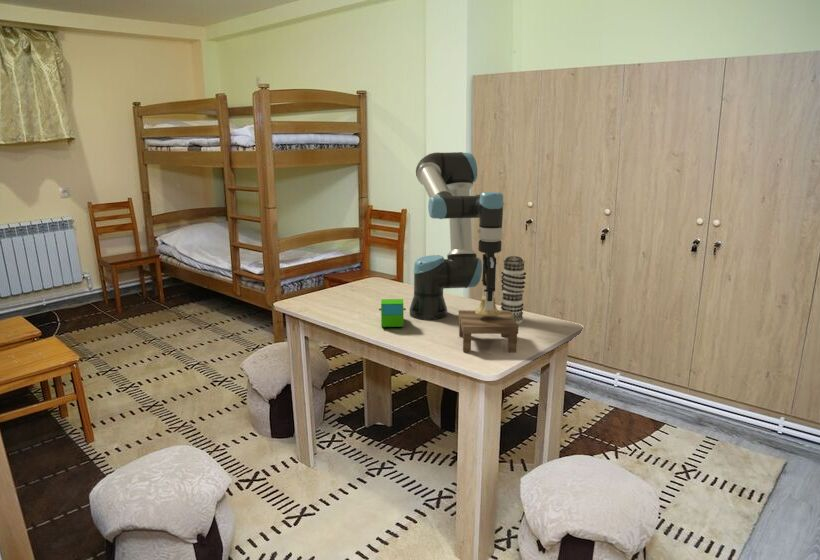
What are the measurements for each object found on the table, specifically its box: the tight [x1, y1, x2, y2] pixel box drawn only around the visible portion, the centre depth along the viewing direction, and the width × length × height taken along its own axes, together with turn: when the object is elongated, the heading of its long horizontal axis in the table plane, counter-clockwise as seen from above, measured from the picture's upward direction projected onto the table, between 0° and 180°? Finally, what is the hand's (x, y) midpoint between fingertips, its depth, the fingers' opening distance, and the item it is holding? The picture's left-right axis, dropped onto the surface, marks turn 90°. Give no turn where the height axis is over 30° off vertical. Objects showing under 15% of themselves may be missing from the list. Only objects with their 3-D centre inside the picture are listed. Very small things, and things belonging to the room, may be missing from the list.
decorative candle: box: [500, 255, 527, 325], centre depth 216 cm, size 9×9×25 cm
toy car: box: [378, 298, 407, 329], centre depth 214 cm, size 10×13×10 cm
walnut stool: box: [458, 309, 519, 353], centre depth 194 cm, size 18×18×9 cm
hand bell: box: [475, 275, 500, 316], centre depth 190 cm, size 8×8×16 cm
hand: (487, 306), depth 192 cm, fingers closed on hand bell, 6 cm apart
